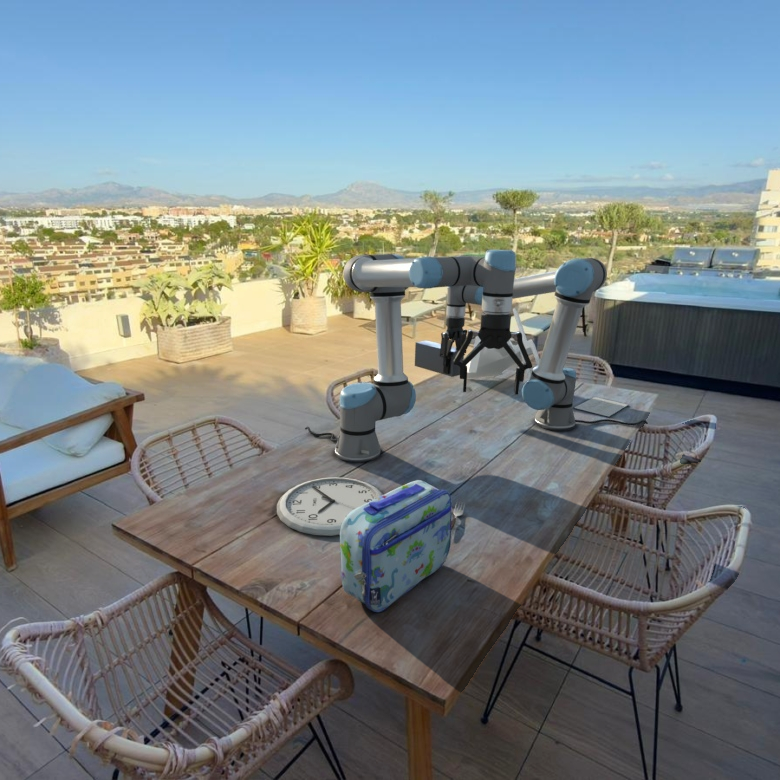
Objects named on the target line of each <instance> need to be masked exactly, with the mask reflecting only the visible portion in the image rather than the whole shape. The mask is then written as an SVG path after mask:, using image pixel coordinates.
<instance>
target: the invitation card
mask: <svg viewBox="0 0 780 780" xmlns="http://www.w3.org/2000/svg"><path fill="white" fill-rule="evenodd" d="M628 406H629V404H627V403H623V402H618V401H614V400H609V399H605V398H601V397H596V396H593V397H592V398H590V399H588V400H586V401H584V402H582V403H580V404H578V405H575V406H574V407H573V409H575V410H581V411H584V412H587V413H593V414H596V415H600V416H604V417H608V418H609V417H611V416H613V415H614V414H616V413H617V412H619V411H621V410H623V409H624V408H626V407H628Z"/></svg>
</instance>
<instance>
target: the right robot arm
mask: <svg viewBox="0 0 780 780" xmlns="http://www.w3.org/2000/svg"><path fill="white" fill-rule="evenodd" d="M607 278H608V270H607V267H606V266H605V264H604V263H603V262H602V261H601V260H599V259H597V258H594V257H586V258H578V257H577V258H572V259H569V260H567V261H564V262H563V263H562V264H561V265H560V266H559V267H558V268H557V270H553V271H546V272H542V273H537V274H532V275H527V276H521V277H517V278H514V286H513V298H512V300H513V299H521V298H526V297H532V296H539V295H545V294H552V293H554V298H555V299H556V305H555V308H554V312H553V314H552V317H551V321H550V322H551V323H550V325H549V329H548V331H547V335H546V338H545V342H544V344H543V349H542V352H541V355H540V357H539V359H540V362H539V365H538V366H537V365H536V366H534V367H532V370H531V377H530V380H529V379H528V380H527V381H526V382H524V384H523V386H522V388H521V396H522V399H523V401H524V402H525V404H526V405H527V406H528V407H529V408H531V409H532V410H536V413H535V416H534V424H535V425H536V426H537V427H539V428H542V429H544V430H549V431H556V432H567V431H572V430H574V429H575V428H576V423H580V424H581V423H582V424H588V425H589V424H591V425H593V424H597V423H602V422H603V423H604V422H608V423H609V422H610V423H616V424H621V425H625V426H638V425H641V424H642V423H644V424H645V425H648V424H649V423H648V421H647V420H645V419H642V420H640V421H637V422H627V421H621V420H616V419H608V418H605V419H603V418H602V419H597V420H593V421H591V420H590V421H588V420H582V419H576V418H575V417H576V416H575V413H574V407H573V405H574V398H575V391H576V383H577V371H576V370H575V369H573V368H571V367H566V366H565V365H566V362H567V360H568V356H569V353H570V349H571V346H572V343H573V339H574V337H575V334H576V331H577V328H578V324H579V322H580V318H581V316H582V312H583V308H584V307H587V306H588V305H589V304H590V303H591V299H592V296H593V293H594V292H596V291H598V290H600V288H602V287H603V286H604V285H605V283H606V280H607ZM446 289H447V294H446V295H447V296H446V317H445V326H446V329H445V330H446V331H445V332H441V333H440V336H441V341H440V344H441V348H440V357H443V373H445V374H449V370H450V358H449V355H450V351H451V348H452V347H453V344H454V343H455V348H459V349H460V348H461V347H462V345H463V343H464V342H465V340H466V338H467V334H468V329H465V328H463V327H465V325H466V323H465V322H466V318H465V316H466V310H467V309H466V308H467V306H466V305H467V304H470V305H477V306H481V307H482V297H483V287H480V286H471V285H467V286H451V287H446ZM466 354H467V350H466V351H465V353H464V356H465V355H466Z"/></svg>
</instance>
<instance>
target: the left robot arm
mask: <svg viewBox="0 0 780 780" xmlns="http://www.w3.org/2000/svg"><path fill="white" fill-rule="evenodd" d="M484 255H485V256H475V255H469V254H463V255H462V254H461V255H455V256H422V257H410V258H406V257H404V256H402V255H400V254H397V253H396V254H393V253H382V254H379V253H378V254H358V255H355V256H353V257H352V258H350V259H348V260H347V262H346V263H345V265H344V266H343V271H342V276H343V280H344V282H345V285H347V286H348V288H349V289H350V290H353V291H355V292H358V293H369V298H370V300H372V301H373V302H374V314H375V317H374V318H375V336H376V337H375V339H376V358H377V359H376V360H377V375H376V376H374V378H373V383H371V382H365V381H364V382H363V381H362V382H355V383H351V384H348V385H346V386H345V387H343V388H342V389H341V391H340V394H339V425H340V427H339V428H340V429H339V430H340V431H339V435H338V437H337V438H335V434H334V433H332V432H322V433H315V432H313V431H312V430H311V428H310V426H305V428H304V430H307V431H308V433H309V434H310V435H312V436H314V437H322V436H331V437H330V441H331V442H336V443H335V447H334V455H335V456H336V458H338V459H339V460H341V461H345V462H349V463H365V462H370V461H374V460H376V459H378V458H379V457H380V456H381V451H382V450H381V449H382V448H381V445H380V442H379V439H378V435H377V432H376V422H378V421H383V420H387V419H390V418H391V419H392V418H395V417H398V418H399V417H401V416H403V415H406V414H409V413H410V412H411V411H412V410H413V409H414V406H415V405H416V399H417V394H416V389H415V388H414V385H413V383H412V382H411V381H409V376H407V375H406V374H405V373H404V355H403V327H402V326H403V325H402V301H403V300H404V298H405V297H406V291H407V290H408V289H409V288H418V289H429V290H430V289H434V288H435V289H437V288H448V287H451V286H467V285H471V286H480V287H483V297H482V306H481V311H482V313H481V314H480V325H479V326H480V328H479V330H478V331H477V330H473V329H471V328H470V329H467V337H466V340H465V342H464V343H463V345H462V347H461V348H460V350H459V352H458V354H457V355H456V357H455V359H454V365H458V366H459V367H460V375H459V379H460V380H463V382H462V384H463V385H462V392H463V393H467V383H468V379H467V369H468V368H467V366H466V365H467V364H468V363H469V362H470V361H471V360H472V359H473V358H474V357H475V356H476V355H477V354H478V353H479V352H480V351H481V350H482V349H483V348H484V347H486V348H488V349H492V348H495V349H500V348H503V347H504V349H505V350H506V351H507V352H508V354H509V355H510V356H511V358H512V359H513V360H514V361H515V363H514V364H516V366H517V367H516V369H515V379H514V388H513V389H514V390H513V392H514V395H516V396H518V395H519V392H520V391H519V390H520V383H523V382H524V380H525V372H526V369H528V368H530V369H533V363H532V361H531V359H530V357H529V355H528V354H527V351H526V349H525V347H524V344H523V340H522V333H521V332H520V331H519V330H518V331H517V332H511V321H512V314H511V312H513V310H512V309H513V299H512V298H513V286H514V279H515V277H516V276H515V275H516V270H517V265H516V263H517V262H516V261H517V260H516V259H517V255H516V252H515V251H514V250H512V249H487V250H486V251H485V254H484ZM476 336H478V337H479V338H480V340H481V341H480V342H479V343H478V345H477V346H476V347H475V348H474V347H473V348H474V349H473V348H472V350H471V351H470V352H469V353H468V354H467V355H466V356H465V355H464V354H466V353H465V351H466V352H467V349H468V348H469V346H470V345H471V343H472V341H473V340H475V339H476ZM512 338H513V340H514V341H515V342H516V343H517V344H518V345H519V348H520V350H521V353H522V355H523V357H524V360H525V362H526V363H523V361H521V359H519V358H518V357H517V355H516V354H515V353H514V352H513V350H512V349H511V348H510V346H509V345H508V344H507V342H508V341H509V340H510V341H511V339H512ZM463 355H464V359H463V360H462V361H460V360H461V358H462V356H463Z"/></svg>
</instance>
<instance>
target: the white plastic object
mask: <svg viewBox="0 0 780 780" xmlns="http://www.w3.org/2000/svg"><path fill="white" fill-rule="evenodd" d="M512 312H513V315H514V319H515V322H516V325H517V328H518V331H520V332H521V333H522V342H523V344H524V347H525V349H526V351H527V354H528V356H529V355H531V354H533V357H534V360H535V363H536V366H538V365H539V362H540V356H539V354H538V350H537V347H536V344H535V342H534V341H533V339H532V338H530V339H528V338H527V336H526V332H525V330H524V327H523V324H522V321H521V317H520V314H519V312H518V310H517V309H516V307H512ZM527 339H528V340H527ZM480 341H481V340H480V338H479V337H478V336H476V337H475V339H474V344H473V348H472V350H473V349H474V348H475V347H476V346H477V345H478V343H479V342H480ZM507 344H508V345H509V346H510V348H511V349H512V350H513V352H514V353H515V354H516V355H517V357H518V358H519V359H520V360H522V363H523V364H524V363H526V362H525V360H524V357H523V355H522V353H521V350H520V348H519V345H518V343H517V344H513V342H512V341H511V339H510V340H509V341H508V342H507ZM514 364H516V363H515V361H514V360H513V359H512V358H511V356H510V355H509V354H508V352H507V351H506V350H505V349H504V347H503V348H500V349H495V348H492V349H488V348H486V347H484V348H483V349H482V350H481V351H480V352H479V353H478V354H477V355H476V356H475V357H474V358H473V359H472V360H471V361H470V362H469V363H468V364H467V365H466V366H467V368H468V369H467V380H468V379H476V378H477V379H478V378H486V377H493V378H496V377H499V376H501V375H503V372H505V371H506V370H507V369H509V368H510V367H512V366H513V365H514ZM525 372H526V373H525V374H526V376H527V379H528V381H529V380H530V377H531V373H532V370H531V368H528V369H526V370H525Z"/></svg>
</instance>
